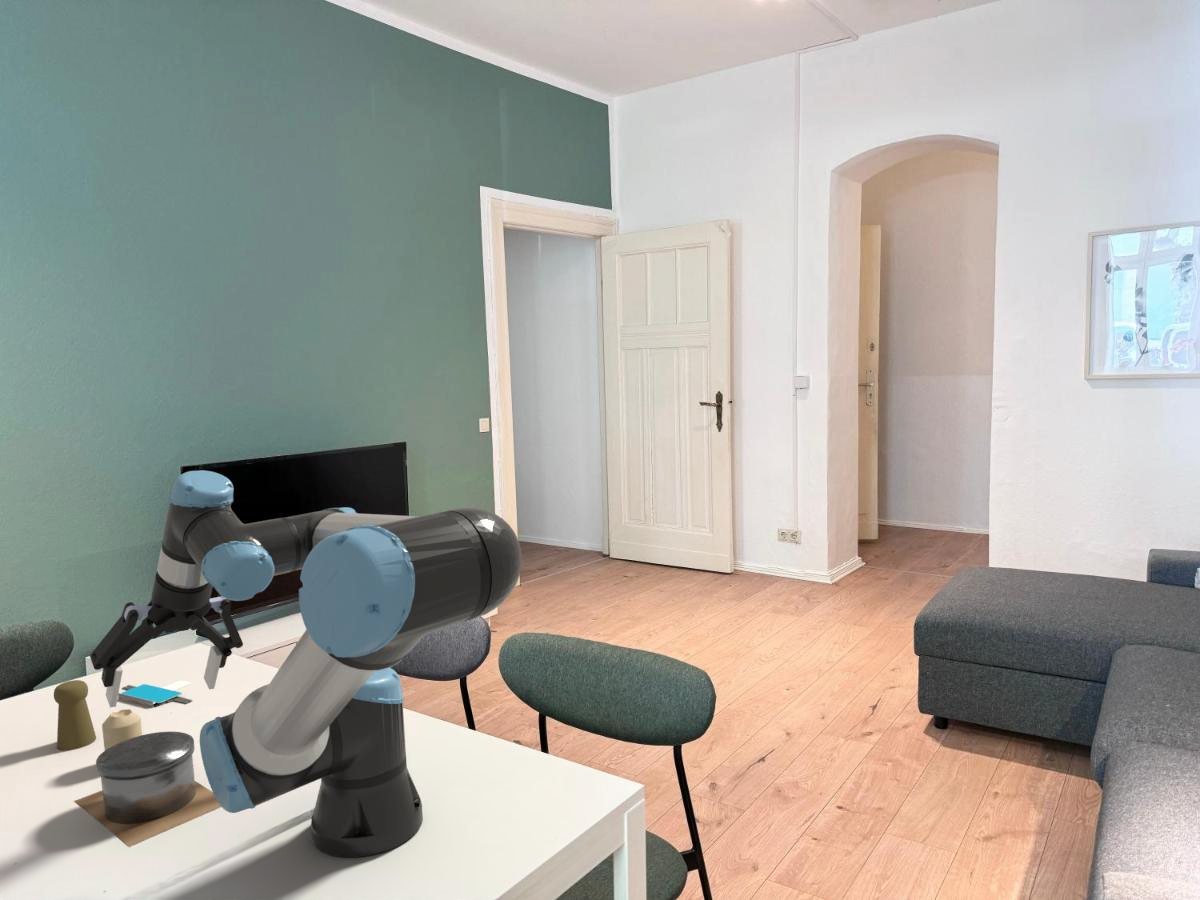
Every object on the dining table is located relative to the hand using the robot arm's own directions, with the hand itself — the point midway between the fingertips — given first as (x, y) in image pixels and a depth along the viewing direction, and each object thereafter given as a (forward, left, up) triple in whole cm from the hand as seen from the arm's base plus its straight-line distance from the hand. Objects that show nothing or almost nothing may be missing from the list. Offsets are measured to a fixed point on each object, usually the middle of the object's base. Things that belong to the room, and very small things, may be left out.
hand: (161, 691), depth 129 cm
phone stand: (+47, -18, -18) cm, 53 cm away
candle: (+17, 0, -18) cm, 24 cm away
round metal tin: (0, +3, -16) cm, 16 cm away
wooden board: (0, +3, -17) cm, 18 cm away
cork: (+36, +1, -18) cm, 40 cm away
